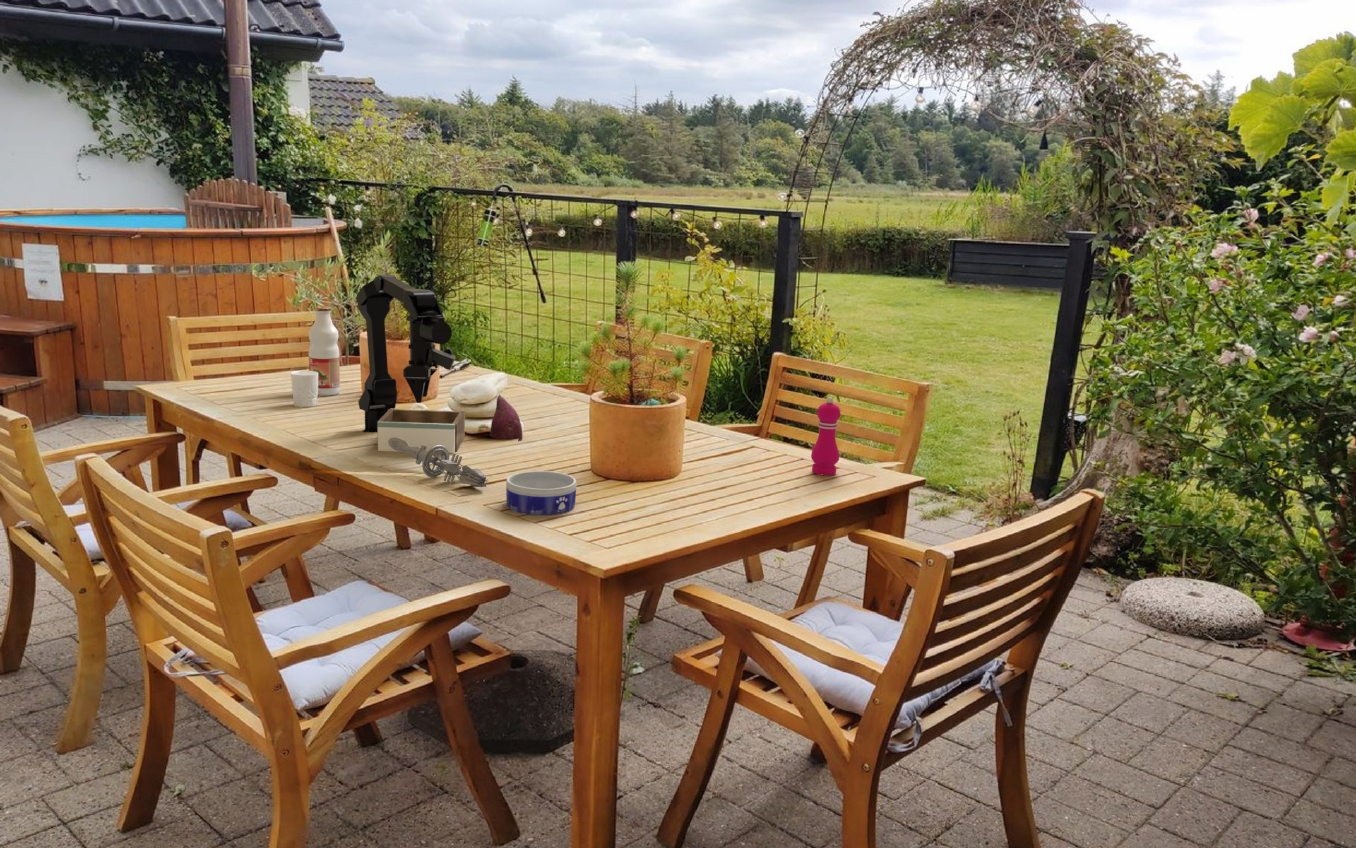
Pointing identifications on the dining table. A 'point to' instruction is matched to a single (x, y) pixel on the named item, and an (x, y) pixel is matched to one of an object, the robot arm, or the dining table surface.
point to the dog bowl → (540, 492)
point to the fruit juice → (325, 352)
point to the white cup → (305, 388)
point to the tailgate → (417, 435)
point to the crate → (429, 420)
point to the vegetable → (505, 422)
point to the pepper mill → (826, 439)
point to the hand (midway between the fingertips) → (421, 399)
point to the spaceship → (440, 463)
